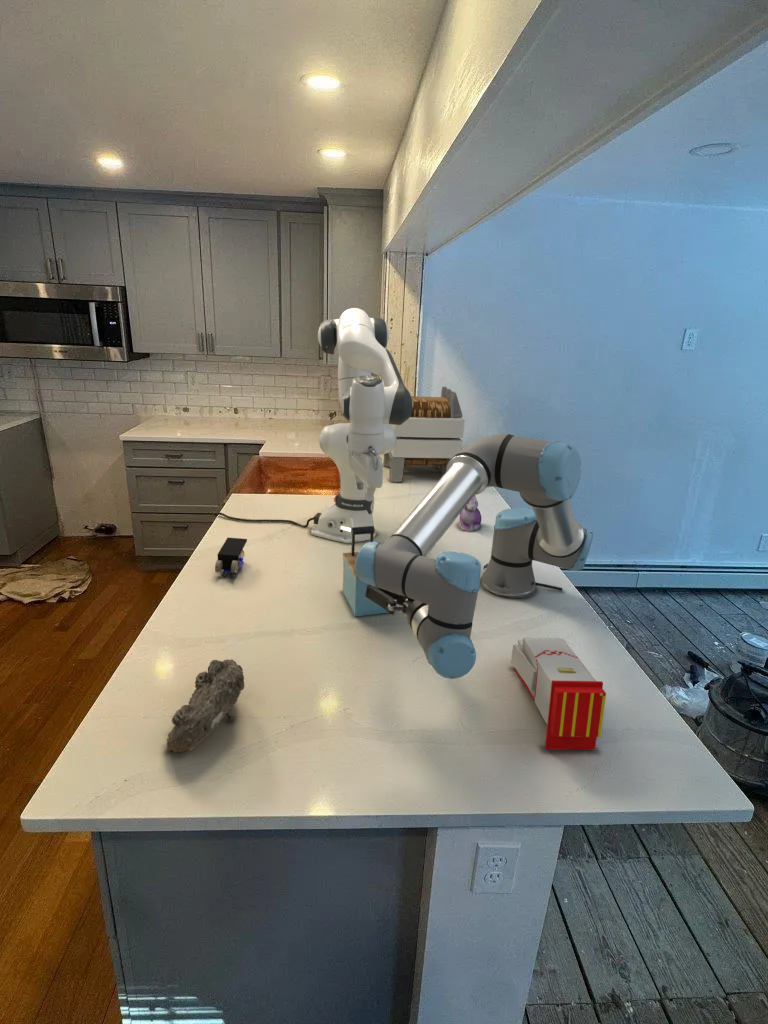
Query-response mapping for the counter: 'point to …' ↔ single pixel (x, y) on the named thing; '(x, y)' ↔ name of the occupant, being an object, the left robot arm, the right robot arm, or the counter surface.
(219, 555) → the black toy rover
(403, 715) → the counter surface
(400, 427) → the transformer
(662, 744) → the counter surface
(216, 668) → the fossil
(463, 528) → the figurine
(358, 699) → the counter surface
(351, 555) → the lid
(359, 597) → the chest
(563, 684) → the toy
